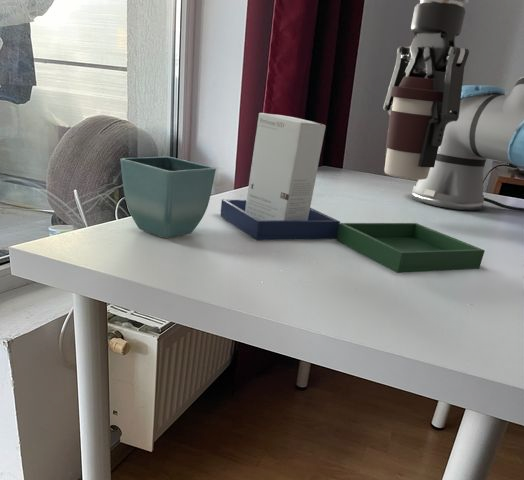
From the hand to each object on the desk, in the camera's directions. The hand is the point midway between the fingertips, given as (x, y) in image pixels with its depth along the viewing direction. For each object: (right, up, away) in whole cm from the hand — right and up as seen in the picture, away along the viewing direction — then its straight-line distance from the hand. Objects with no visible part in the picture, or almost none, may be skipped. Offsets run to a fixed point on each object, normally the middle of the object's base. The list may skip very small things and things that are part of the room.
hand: (408, 161), depth 93 cm
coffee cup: (0, -2, +1) cm, 3 cm away
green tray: (-4, -18, -15) cm, 24 cm away
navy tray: (-22, -13, -9) cm, 27 cm away
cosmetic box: (-22, -13, -9) cm, 27 cm away
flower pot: (-37, -16, -19) cm, 45 cm away
